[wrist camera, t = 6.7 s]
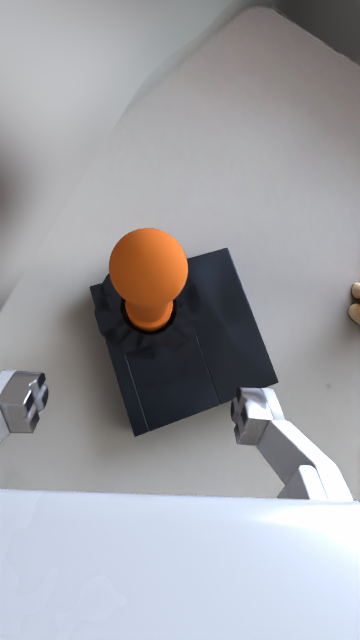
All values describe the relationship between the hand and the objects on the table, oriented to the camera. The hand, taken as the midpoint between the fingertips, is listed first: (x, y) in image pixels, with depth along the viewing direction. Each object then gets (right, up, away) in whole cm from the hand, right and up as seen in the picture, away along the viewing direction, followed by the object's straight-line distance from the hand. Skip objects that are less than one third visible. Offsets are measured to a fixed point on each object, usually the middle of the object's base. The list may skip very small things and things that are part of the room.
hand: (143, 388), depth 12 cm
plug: (-1, +4, +12) cm, 13 cm away
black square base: (+2, +1, +12) cm, 12 cm away
